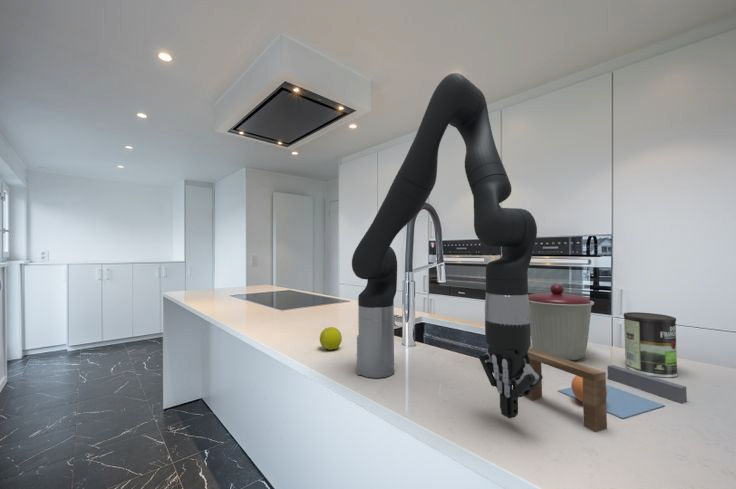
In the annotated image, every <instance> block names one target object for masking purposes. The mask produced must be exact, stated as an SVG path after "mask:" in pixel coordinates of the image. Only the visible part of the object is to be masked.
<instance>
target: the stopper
mask: <svg viewBox="0 0 736 489" xmlns="http://www.w3.org/2000/svg"><path fill="white" fill-rule="evenodd" d="M607 379H608V380H611V381H613V382H617V383H620V384H623V385H626V386H629V387H630V388H631V387H632V388H635V389H637V390H641V391H644V392H645V393H646V392H647V393H650V394H652V395H656V396H658V397H662V398H664V399H667V400H670V401H674V402H676V403H678V404H683V403H687V402H688V401H687V400H688V398H687V397H688V396H687V394H688V393H687V386H685V385H682V384H679V383H675V382H672V381H668V380H665V379H663V378H662V379H661V378H660V377H655V376H649V375H645V374H642V373H638V372H635V371H632V370H629V369H628V368H626V367H625V368H624V367H622V366H617V365H616V364H615V365H614V364H611V365H607Z"/></svg>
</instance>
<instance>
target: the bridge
mask: <svg viewBox="0 0 736 489" xmlns="http://www.w3.org/2000/svg"><path fill="white" fill-rule="evenodd" d="M528 356H529V358H530V366H531V367H532V369H533V370H534V371H535V373H537V372H540V373H541V374H542V372H543V371H542V364H544V365H547V366H549V367H552V368H554V369H557V370H559V371H560V370H561V371H563V372H566V373H569V374H572V375H574V376H576V375H577V376H580V377H582V378H583V402H582V408H583V411H582V412H583V427H584V428H586V429H589V430H590V431H592V432H594V433H598V432H600V431H604V430H607V429H608V415H607V414H608V413H607V408H606V385H607V383H606V382H607V380H606V379H607V378H606V377H607V375H606V374H607V373H606V371H603V370H600V369H597V368H594V367H591V366H589V365H585V364H582V363H578V362H576V361H569V360H566V359H563V358H560V357H557V356H554V355H551V354H548V353H545V352H541V351H538V350H535V349H534V348H529V349H528ZM542 375H543V374H542ZM542 382H543V379H542V380H541V381H540V382H539V383H538V384H537V386H536V387H535V388H534V389H533V390H532V391H531V392H530V393H529V394H528V396H524V397H523V398H526V399H528V400H530V401H534V400H539V399H542V398H543V383H542Z"/></svg>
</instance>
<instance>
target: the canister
mask: <svg viewBox="0 0 736 489" xmlns="http://www.w3.org/2000/svg"><path fill="white" fill-rule="evenodd" d="M549 291H550V292H536V293H531V294H528V298H529V304H530V330H531V344H532V347H533V348H532V349H535V350H538V351H541V352H545V353H548V354H551V355H554V356H557V357H560V358H563V359H566V360H569V361H573V362H575V361H579V360H581V359H583V358H584V356H586V354H587V350H588V349H587V348H588V340H589V332H590V323H591V314H592V313H591V312H592V306H594V305H595V302H594V301H593V300H590V298H588V297H586V296H583V295H580V294H572V293H564V291H565V288H564V286H563V285H561V284H558V283H557V284H552V285H551V286H550V287H549Z"/></svg>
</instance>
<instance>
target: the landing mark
mask: <svg viewBox="0 0 736 489" xmlns="http://www.w3.org/2000/svg"><path fill="white" fill-rule="evenodd" d="M606 388H607V397H606V408H607V414H609V415H613V416H615V417H617V418H619V419H621V420H624V419H627V418H630V417H635V416H638V415H640V414H644V413H648V412H651V411H654V410H657V409H661V408H664V407H666V405H665V404H662V403H659V402H656V401H654V400H651V399H649V398H645V397H644V396H643V397H642V396H640V395H636V394H634V393H632V392H628V391H625V390H622V389H620V388H617V387H614V386H612V385H609V384H606ZM557 392H558V393H561V394H563V395H565V396H568V397H570V398H573V399H574V400H578V401H579V402H581V401H580V400H579V399H578V398H577V397H576V396H575V395H574V393H573V391H572V386H571V387H566V388H562V389H558V390H557Z"/></svg>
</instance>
